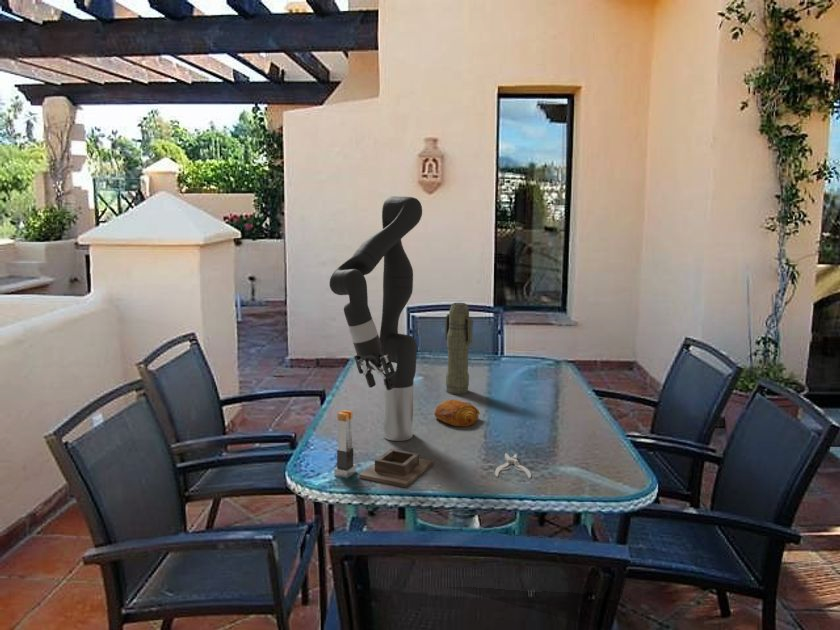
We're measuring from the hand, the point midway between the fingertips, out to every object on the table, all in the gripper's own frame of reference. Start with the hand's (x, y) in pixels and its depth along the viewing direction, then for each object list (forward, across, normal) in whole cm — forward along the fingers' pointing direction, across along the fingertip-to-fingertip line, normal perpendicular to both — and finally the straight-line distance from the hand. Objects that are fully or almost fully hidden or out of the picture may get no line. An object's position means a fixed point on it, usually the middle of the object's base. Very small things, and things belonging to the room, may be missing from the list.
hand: (381, 387), depth 200 cm
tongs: (+16, -2, +21) cm, 26 cm away
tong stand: (+20, -10, +10) cm, 24 cm away
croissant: (+30, +12, -33) cm, 46 cm away
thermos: (+34, +37, -58) cm, 77 cm away
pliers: (+30, -28, -15) cm, 44 cm away
